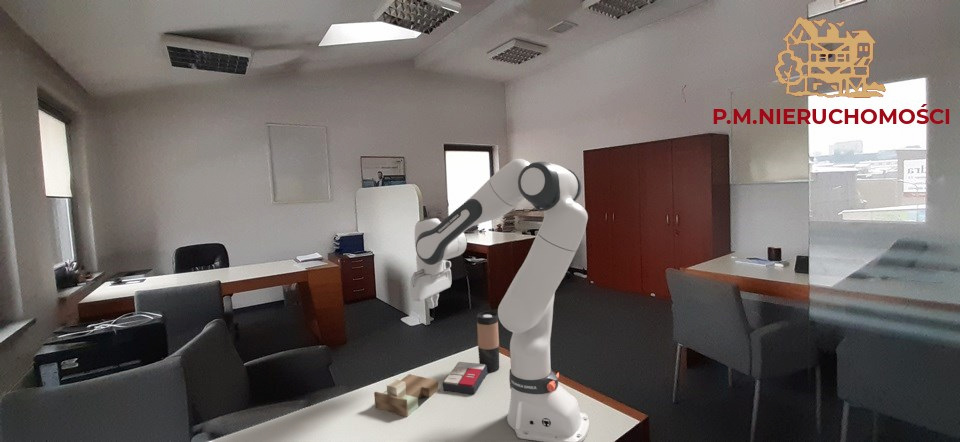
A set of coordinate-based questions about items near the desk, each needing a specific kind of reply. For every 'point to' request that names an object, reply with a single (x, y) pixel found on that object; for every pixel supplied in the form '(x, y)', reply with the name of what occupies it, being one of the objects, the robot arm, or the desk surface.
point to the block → (396, 388)
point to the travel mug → (488, 340)
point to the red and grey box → (465, 378)
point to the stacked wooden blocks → (407, 396)
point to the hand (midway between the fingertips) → (433, 307)
